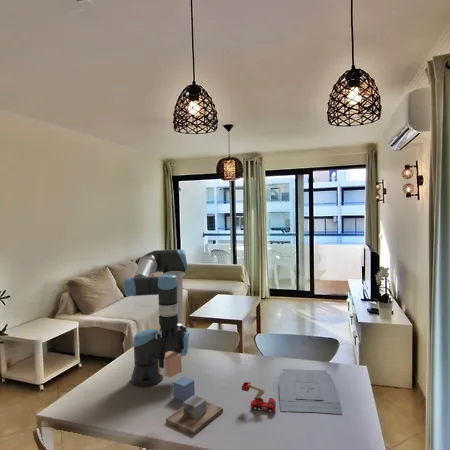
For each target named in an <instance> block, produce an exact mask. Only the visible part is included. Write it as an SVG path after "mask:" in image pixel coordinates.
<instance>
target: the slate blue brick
mask: <svg viewBox="0 0 450 450" xmlns="http://www.w3.org/2000/svg"><path fill="white" fill-rule="evenodd" d="M195 389H196V388H195V379H192V378H189V377H187V376H184V375H183V376H182V377H180V378H178V379H177V380H175V381H173V398H174V399H175V400H178V401H181V402H182V403H183V402H184V401H186V400H187V399H189V398H190V397H192V396H193V395H195V391H196V390H195ZM195 396H196V395H195Z"/></svg>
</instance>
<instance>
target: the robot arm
mask: <svg viewBox="0 0 450 450" xmlns="http://www.w3.org/2000/svg"><path fill="white" fill-rule="evenodd" d="M186 256H187V255H186V251H185V250H184V249H161V250H159V249H157V250H152V251H150V252H147V253H146V254H144V255H143V256H141V257H140V259H139V261H138V262H137V269H136V271H135V273H134V275H133V277H127V278H125V279H124V283H123V291H124V295H125V296H127V297H141V296H157V295H158V297H157V298H158V299H157V300H158V325H159V327H160V328H159V330H158V329H156V328H148V329H145V330H142V331H139V332H137V333H136V334H135V335H134V337H133V358H134V359H133V360H134V362H133V363H134V367H133V370H132V374H131V384H132V385H134V386H136V387H141V388H142V387H143V388H144V387H152V386H155V385H157V384H159V383H160V382H162V381H163V379H164V377H167V373H166V359H164V358H165V353H166V352H169V351H172V352H175V353H179V354H181V357H185V356H187V355H188V351H189V344H190V343H189V342H190V331H189V330H187V326H186V325H185V324H184V301H183V300H184V298H183V296H184V294H183V292H184V290H183V278H184V277H185V276H186V272H188V270H189V268H188V263H187V262H188V261H187V257H186ZM153 273H162V274H161V275H159V276H153ZM158 360H159V367H160V373H161V374H159V367H158Z"/></svg>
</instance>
